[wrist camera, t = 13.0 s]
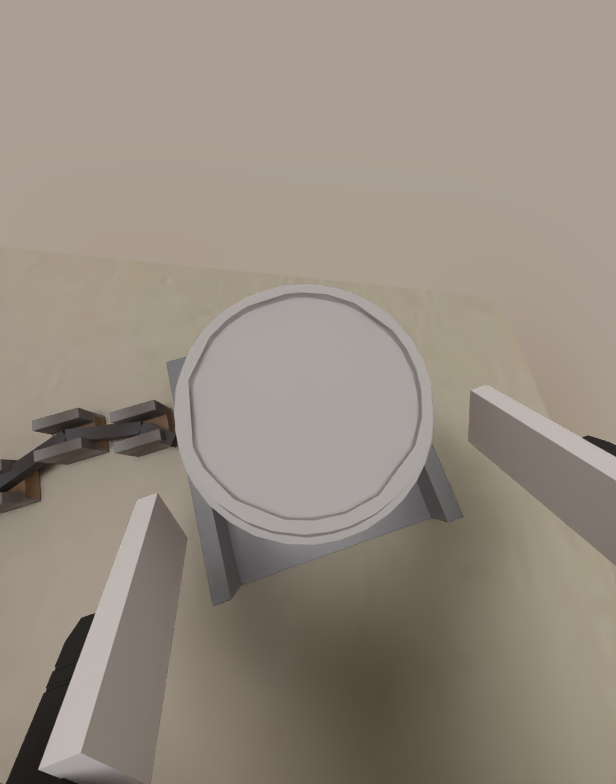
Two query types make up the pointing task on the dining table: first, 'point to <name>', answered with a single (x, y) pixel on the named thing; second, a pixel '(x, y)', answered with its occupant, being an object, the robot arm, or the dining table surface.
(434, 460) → the end holder
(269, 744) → the dining table surface
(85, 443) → the clip strip
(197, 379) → the disposable coffee cup
